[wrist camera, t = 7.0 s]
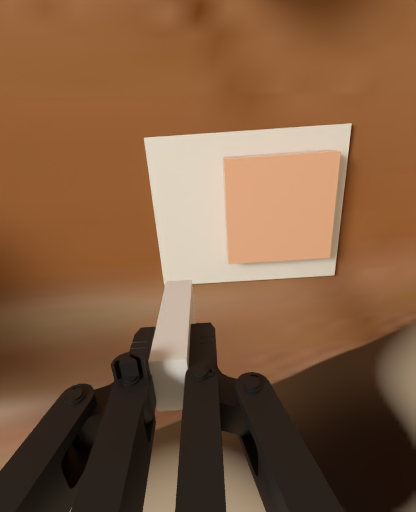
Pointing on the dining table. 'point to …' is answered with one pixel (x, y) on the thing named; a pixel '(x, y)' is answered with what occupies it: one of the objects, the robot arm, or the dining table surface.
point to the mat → (213, 200)
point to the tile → (280, 205)
